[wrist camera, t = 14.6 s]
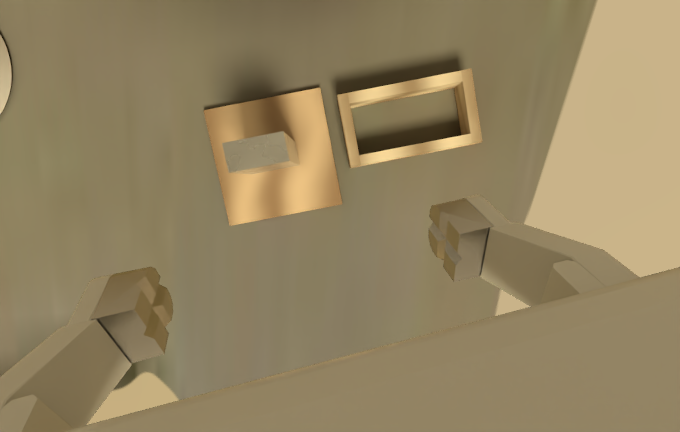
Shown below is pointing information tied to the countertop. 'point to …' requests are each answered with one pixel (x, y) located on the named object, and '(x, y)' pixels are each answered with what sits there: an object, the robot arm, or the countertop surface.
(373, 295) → the countertop surface
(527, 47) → the countertop surface
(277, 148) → the grey block
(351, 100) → the birch box
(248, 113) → the cork mat
